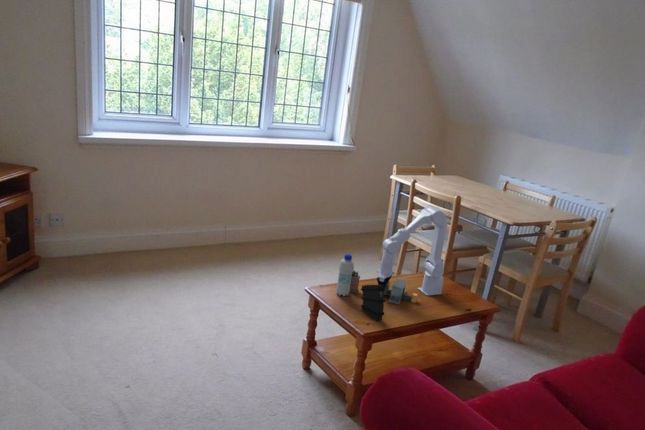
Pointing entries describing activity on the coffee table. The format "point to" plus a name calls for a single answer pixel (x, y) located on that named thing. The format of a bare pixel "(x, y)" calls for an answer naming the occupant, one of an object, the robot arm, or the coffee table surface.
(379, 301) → the black ribbed block
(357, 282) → the lighter
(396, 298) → the housing
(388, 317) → the coffee table surface
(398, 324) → the coffee table surface
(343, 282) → the bottle
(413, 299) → the plug
